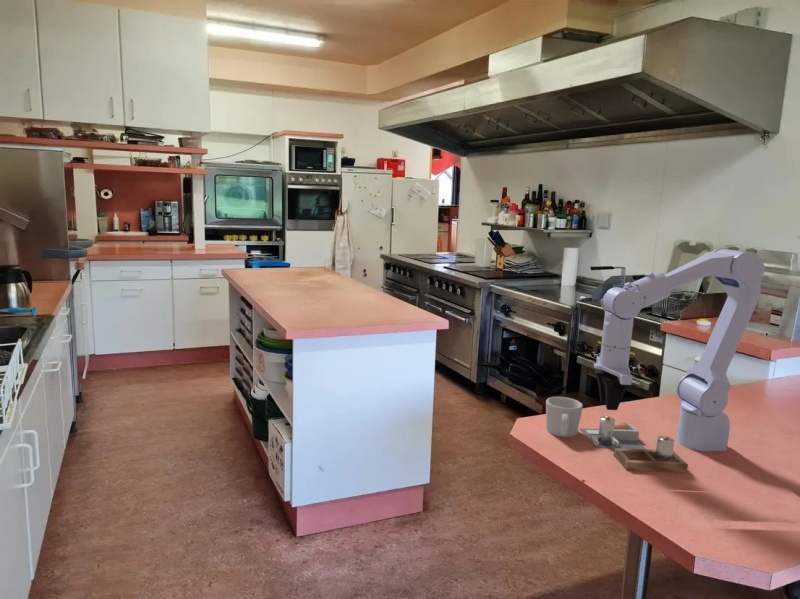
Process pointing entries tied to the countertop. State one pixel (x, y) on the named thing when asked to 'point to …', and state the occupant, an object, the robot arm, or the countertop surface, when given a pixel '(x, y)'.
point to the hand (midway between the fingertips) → (608, 406)
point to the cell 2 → (664, 449)
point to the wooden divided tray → (648, 461)
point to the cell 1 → (606, 430)
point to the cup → (563, 416)
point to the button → (621, 425)
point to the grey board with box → (616, 438)
